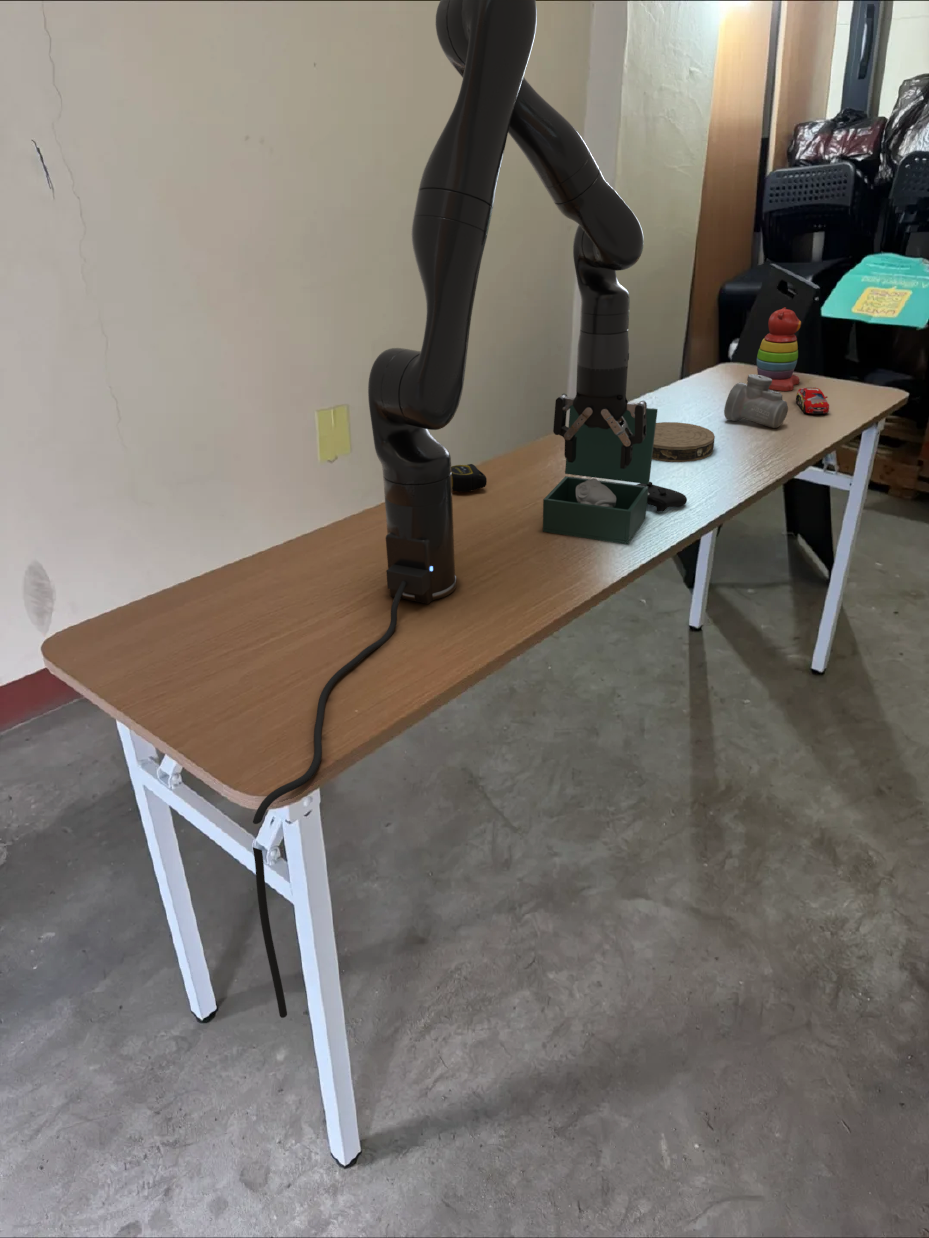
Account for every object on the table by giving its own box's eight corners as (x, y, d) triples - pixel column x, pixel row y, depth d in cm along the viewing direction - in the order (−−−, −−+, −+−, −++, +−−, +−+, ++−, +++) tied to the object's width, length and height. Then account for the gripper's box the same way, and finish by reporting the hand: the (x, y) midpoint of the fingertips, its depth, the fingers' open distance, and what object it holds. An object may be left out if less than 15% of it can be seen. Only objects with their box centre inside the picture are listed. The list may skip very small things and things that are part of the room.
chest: (628, 544, 135) (630, 511, 132) (542, 531, 140) (543, 499, 137) (645, 518, 144) (648, 486, 141) (564, 506, 149) (565, 476, 146)
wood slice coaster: (701, 435, 181) (702, 420, 179) (722, 460, 167) (724, 445, 165) (625, 437, 180) (626, 423, 179) (640, 463, 167) (642, 448, 165)
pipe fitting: (718, 420, 187) (730, 373, 182) (734, 415, 192) (747, 369, 187) (769, 437, 181) (784, 389, 175) (785, 431, 186) (800, 384, 181)
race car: (830, 417, 189) (833, 399, 187) (804, 416, 190) (807, 398, 188) (818, 400, 200) (821, 383, 198) (793, 399, 201) (796, 382, 199)
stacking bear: (790, 392, 207) (803, 314, 198) (748, 387, 211) (758, 311, 202) (800, 381, 215) (813, 306, 206) (759, 377, 219) (769, 304, 210)
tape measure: (488, 492, 156) (487, 473, 154) (451, 498, 154) (451, 478, 152) (476, 480, 161) (475, 461, 159) (440, 485, 160) (440, 465, 158)
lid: (656, 409, 136) (657, 408, 136) (570, 401, 141) (571, 400, 142) (648, 484, 140) (649, 483, 141) (564, 473, 146) (566, 473, 146)
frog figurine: (585, 511, 146) (586, 471, 142) (622, 519, 142) (625, 479, 138) (567, 523, 141) (568, 482, 138) (605, 532, 138) (607, 491, 134)
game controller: (690, 499, 148) (680, 483, 143) (676, 526, 147) (665, 511, 142) (642, 486, 154) (630, 470, 149) (629, 512, 153) (616, 497, 148)
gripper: (549, 363, 129) (547, 467, 137) (643, 370, 123) (636, 477, 132) (564, 351, 134) (562, 451, 143) (655, 358, 129) (647, 461, 137)
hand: (597, 464), depth 137 cm, fingers open, 8 cm apart
